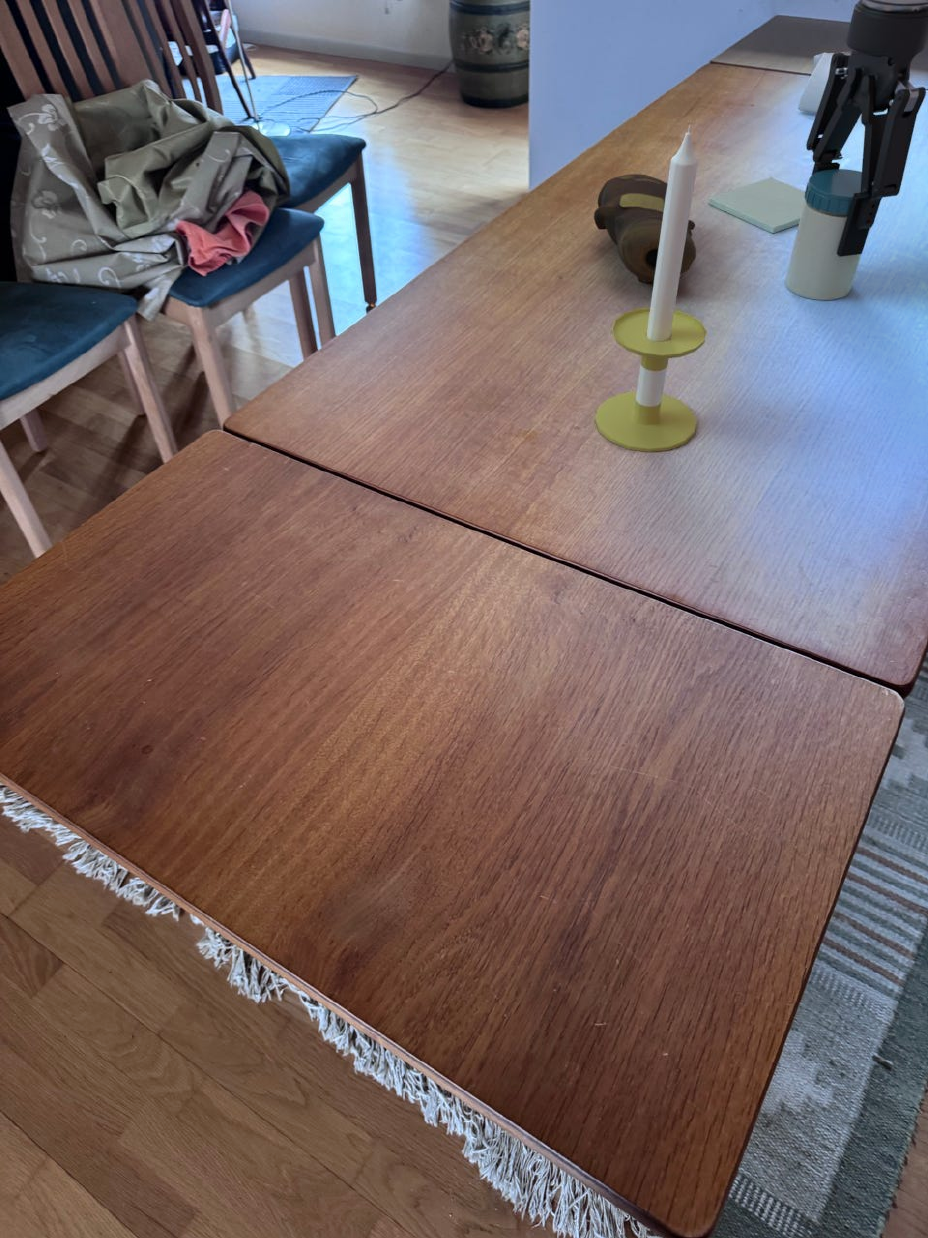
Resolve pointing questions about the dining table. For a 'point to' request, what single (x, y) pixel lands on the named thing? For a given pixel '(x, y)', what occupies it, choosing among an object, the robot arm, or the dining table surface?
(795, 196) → the tile
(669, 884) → the dining table surface
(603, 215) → the pottery vessel
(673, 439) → the candle
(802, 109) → the spoon rest
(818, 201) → the lid
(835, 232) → the jar
